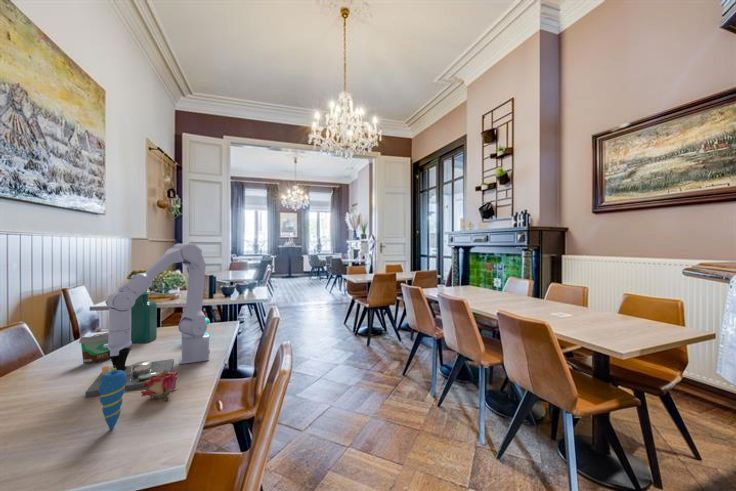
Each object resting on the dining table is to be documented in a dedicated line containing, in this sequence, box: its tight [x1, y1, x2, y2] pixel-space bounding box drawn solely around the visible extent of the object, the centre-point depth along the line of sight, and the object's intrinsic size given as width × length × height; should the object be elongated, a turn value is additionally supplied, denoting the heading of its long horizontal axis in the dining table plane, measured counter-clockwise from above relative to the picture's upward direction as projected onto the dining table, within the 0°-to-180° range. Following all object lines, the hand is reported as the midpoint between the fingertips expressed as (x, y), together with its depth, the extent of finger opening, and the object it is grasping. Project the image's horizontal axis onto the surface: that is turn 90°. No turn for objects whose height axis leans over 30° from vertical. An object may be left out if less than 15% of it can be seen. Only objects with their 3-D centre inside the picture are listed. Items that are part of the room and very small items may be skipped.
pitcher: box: [131, 291, 158, 344], centre depth 145 cm, size 10×8×22 cm
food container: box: [78, 331, 111, 365], centre depth 121 cm, size 12×6×10 cm, turn 168°
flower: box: [140, 370, 179, 402], centre depth 91 cm, size 10×9×8 cm
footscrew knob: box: [101, 360, 153, 376], centre depth 104 cm, size 14×5×3 cm, turn 103°
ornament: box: [98, 365, 127, 430], centre depth 76 cm, size 5×5×15 cm
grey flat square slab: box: [84, 358, 175, 398], centre depth 105 cm, size 20×20×3 cm
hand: (119, 372), depth 102 cm, fingers closed, pressing on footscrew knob
